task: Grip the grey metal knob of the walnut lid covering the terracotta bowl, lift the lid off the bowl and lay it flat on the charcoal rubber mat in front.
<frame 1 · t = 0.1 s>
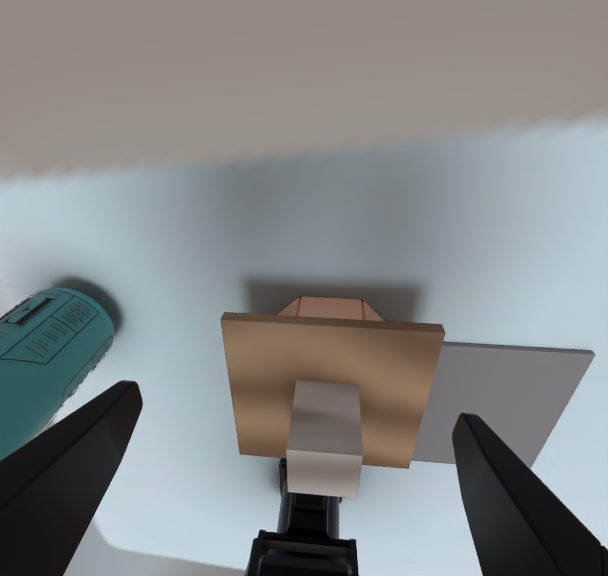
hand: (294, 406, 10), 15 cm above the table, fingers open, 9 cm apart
mat: (480, 410, 29), on the table
bowl: (328, 355, 28), on the table
beverage bottle: (89, 309, 28), on the table
lid: (326, 394, 24), point 4 cm above the table, touching bowl
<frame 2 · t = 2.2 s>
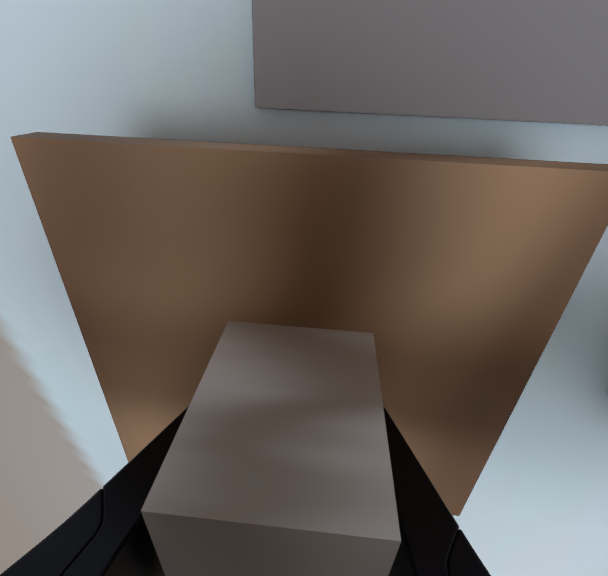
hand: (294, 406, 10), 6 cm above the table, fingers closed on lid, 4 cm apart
lid: (300, 361, 11), point 4 cm above the table, touching bowl, gripper
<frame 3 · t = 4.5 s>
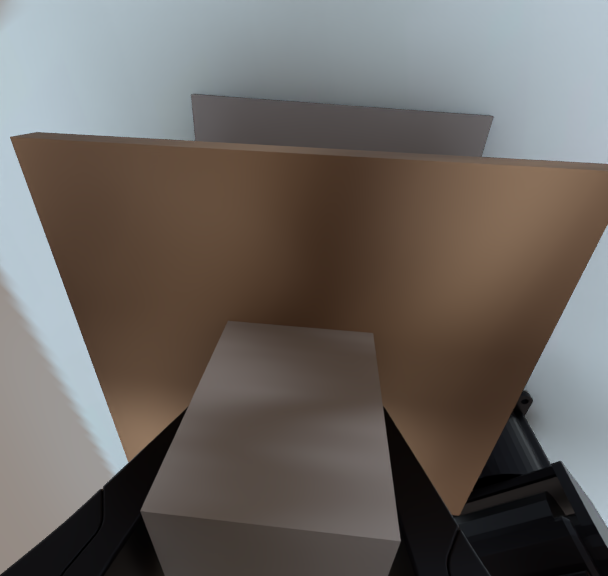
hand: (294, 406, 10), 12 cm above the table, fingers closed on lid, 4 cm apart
mat: (327, 225, 20), on the table
lid: (300, 361, 11), point 10 cm above the table, touching gripper
when the fingers open (4 cm above the table, at t = 6.9 s): lid drops 1 cm, resting on mat.
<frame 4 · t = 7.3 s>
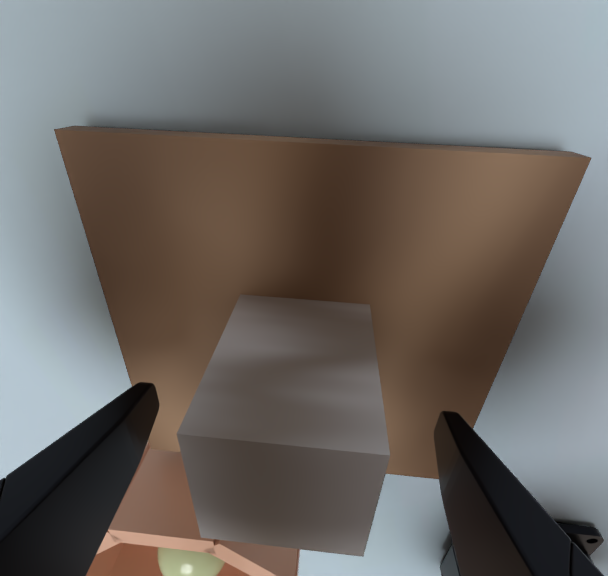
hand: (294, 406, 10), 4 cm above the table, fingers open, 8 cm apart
bowl: (207, 503, 20), on the table
lid: (304, 334, 13), resting on mat
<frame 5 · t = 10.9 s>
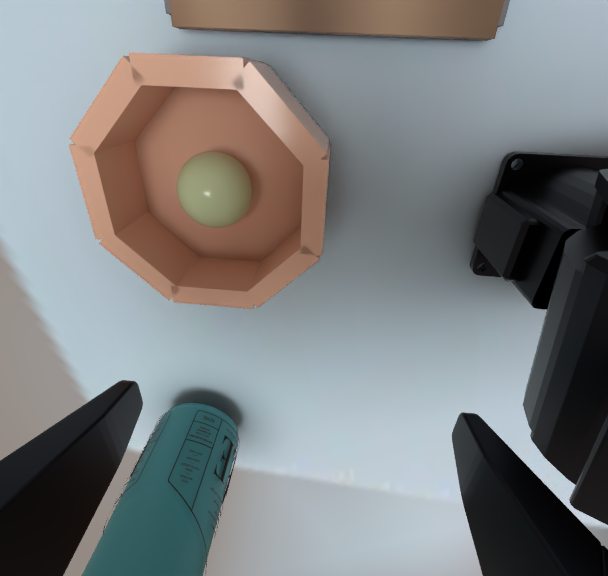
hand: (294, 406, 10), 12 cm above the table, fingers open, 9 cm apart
bowl: (226, 180, 19), on the table
beverage bottle: (208, 411, 29), on the table
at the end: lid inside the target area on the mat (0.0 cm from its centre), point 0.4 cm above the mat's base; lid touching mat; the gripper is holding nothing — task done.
